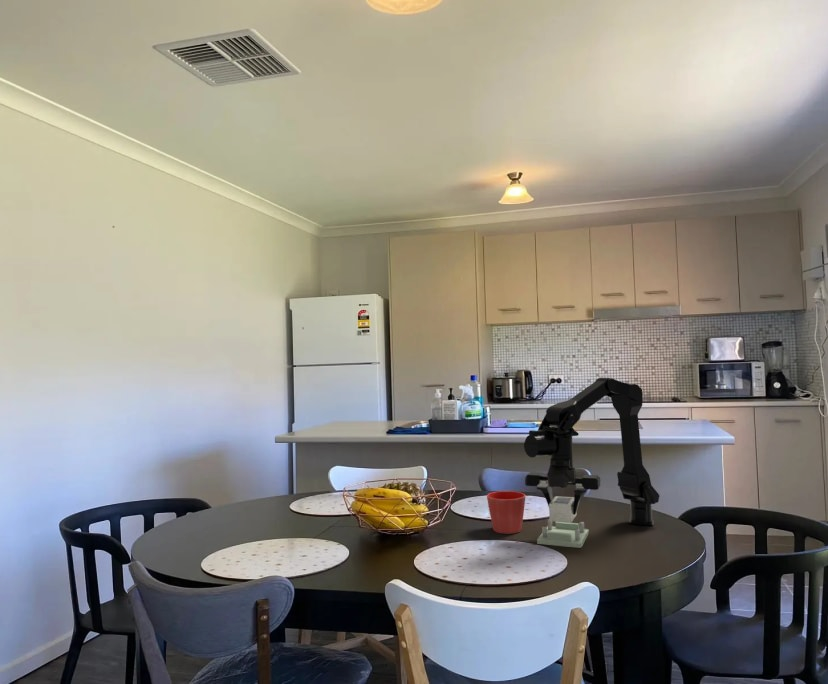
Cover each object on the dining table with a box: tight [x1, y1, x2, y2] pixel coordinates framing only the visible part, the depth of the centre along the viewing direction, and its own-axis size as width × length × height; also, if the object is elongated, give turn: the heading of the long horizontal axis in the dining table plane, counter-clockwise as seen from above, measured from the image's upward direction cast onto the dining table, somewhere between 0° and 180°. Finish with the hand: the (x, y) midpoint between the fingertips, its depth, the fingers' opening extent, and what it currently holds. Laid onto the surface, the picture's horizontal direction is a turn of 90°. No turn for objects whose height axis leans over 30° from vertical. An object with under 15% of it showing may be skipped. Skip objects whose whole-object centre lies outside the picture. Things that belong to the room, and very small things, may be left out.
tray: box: [536, 518, 590, 549], centre depth 163 cm, size 14×11×4 cm
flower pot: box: [486, 490, 526, 535], centre depth 172 cm, size 11×11×10 cm
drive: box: [548, 495, 578, 523], centre depth 163 cm, size 9×6×5 cm, turn 157°
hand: (563, 513), depth 163 cm, fingers closed on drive, 5 cm apart
